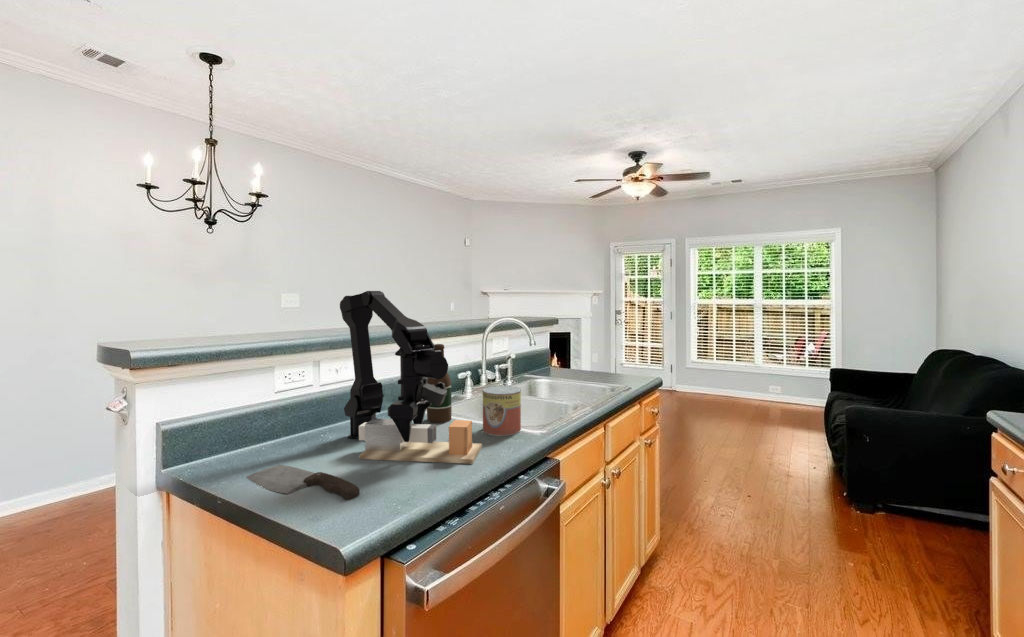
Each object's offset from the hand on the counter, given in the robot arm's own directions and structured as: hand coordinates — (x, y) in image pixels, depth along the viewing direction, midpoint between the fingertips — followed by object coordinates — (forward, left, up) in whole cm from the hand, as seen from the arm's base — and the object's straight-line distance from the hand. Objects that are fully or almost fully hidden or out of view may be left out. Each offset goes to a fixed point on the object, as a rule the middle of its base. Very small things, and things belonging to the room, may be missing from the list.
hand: (412, 435), depth 121 cm
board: (+3, 0, -4) cm, 5 cm away
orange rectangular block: (+12, 0, -3) cm, 13 cm away
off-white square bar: (-4, 0, -1) cm, 4 cm away
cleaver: (-17, -22, -5) cm, 28 cm away
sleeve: (-7, 0, -4) cm, 8 cm away
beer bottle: (-2, +30, -4) cm, 31 cm away
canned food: (+20, +22, -4) cm, 30 cm away
